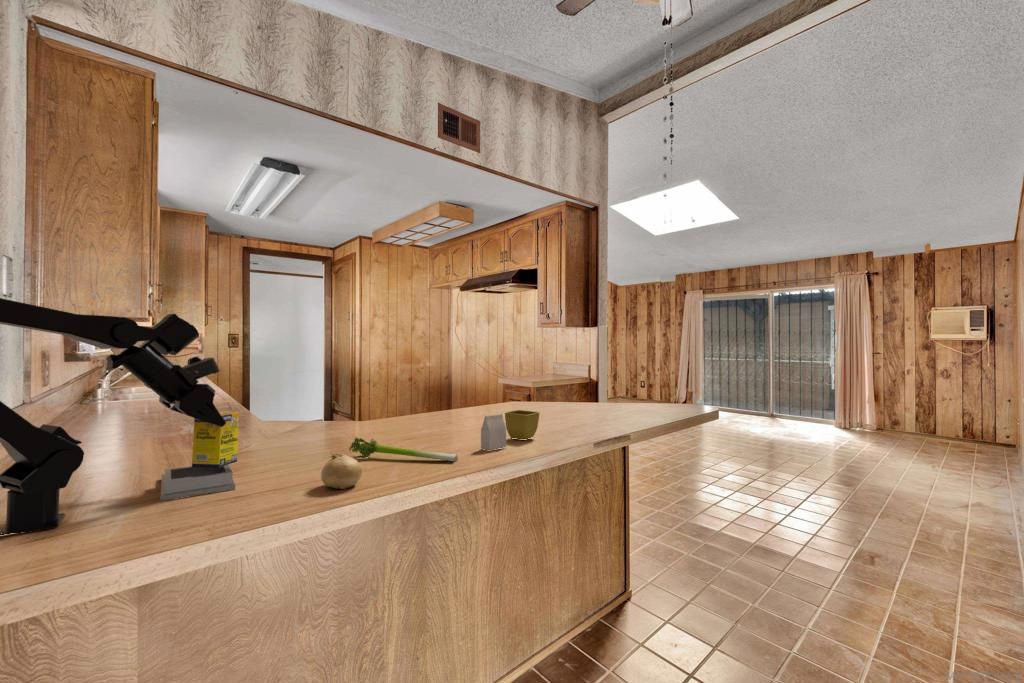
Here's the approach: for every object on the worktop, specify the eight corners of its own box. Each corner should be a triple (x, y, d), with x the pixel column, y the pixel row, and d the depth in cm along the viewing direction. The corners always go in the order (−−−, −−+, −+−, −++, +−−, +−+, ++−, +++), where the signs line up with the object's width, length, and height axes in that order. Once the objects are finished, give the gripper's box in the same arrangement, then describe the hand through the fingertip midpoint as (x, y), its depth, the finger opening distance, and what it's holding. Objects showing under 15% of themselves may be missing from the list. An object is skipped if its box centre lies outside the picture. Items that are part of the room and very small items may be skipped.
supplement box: (219, 468, 90) (221, 414, 90) (190, 468, 90) (193, 414, 90) (238, 461, 95) (240, 411, 96) (211, 461, 96) (213, 411, 96)
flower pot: (540, 438, 145) (540, 411, 146) (527, 443, 138) (527, 414, 138) (517, 435, 150) (517, 409, 150) (503, 440, 143) (504, 412, 143)
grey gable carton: (505, 448, 131) (506, 414, 131) (489, 451, 126) (489, 417, 126) (497, 446, 133) (497, 413, 133) (480, 449, 128) (481, 415, 129)
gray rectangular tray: (235, 489, 90) (235, 472, 90) (160, 501, 83) (161, 482, 83) (226, 470, 104) (226, 455, 104) (161, 479, 97) (162, 463, 97)
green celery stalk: (451, 474, 110) (342, 458, 115) (458, 470, 117) (355, 456, 122) (454, 449, 111) (346, 435, 116) (461, 447, 118) (358, 434, 123)
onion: (360, 479, 98) (361, 448, 98) (362, 490, 90) (362, 455, 90) (321, 483, 95) (322, 450, 95) (320, 494, 87) (320, 458, 88)
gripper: (205, 342, 84) (264, 398, 92) (181, 344, 96) (235, 392, 104) (150, 384, 78) (218, 440, 85) (132, 380, 90) (193, 429, 98)
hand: (217, 423), depth 93 cm, fingers closed on supplement box, 8 cm apart
